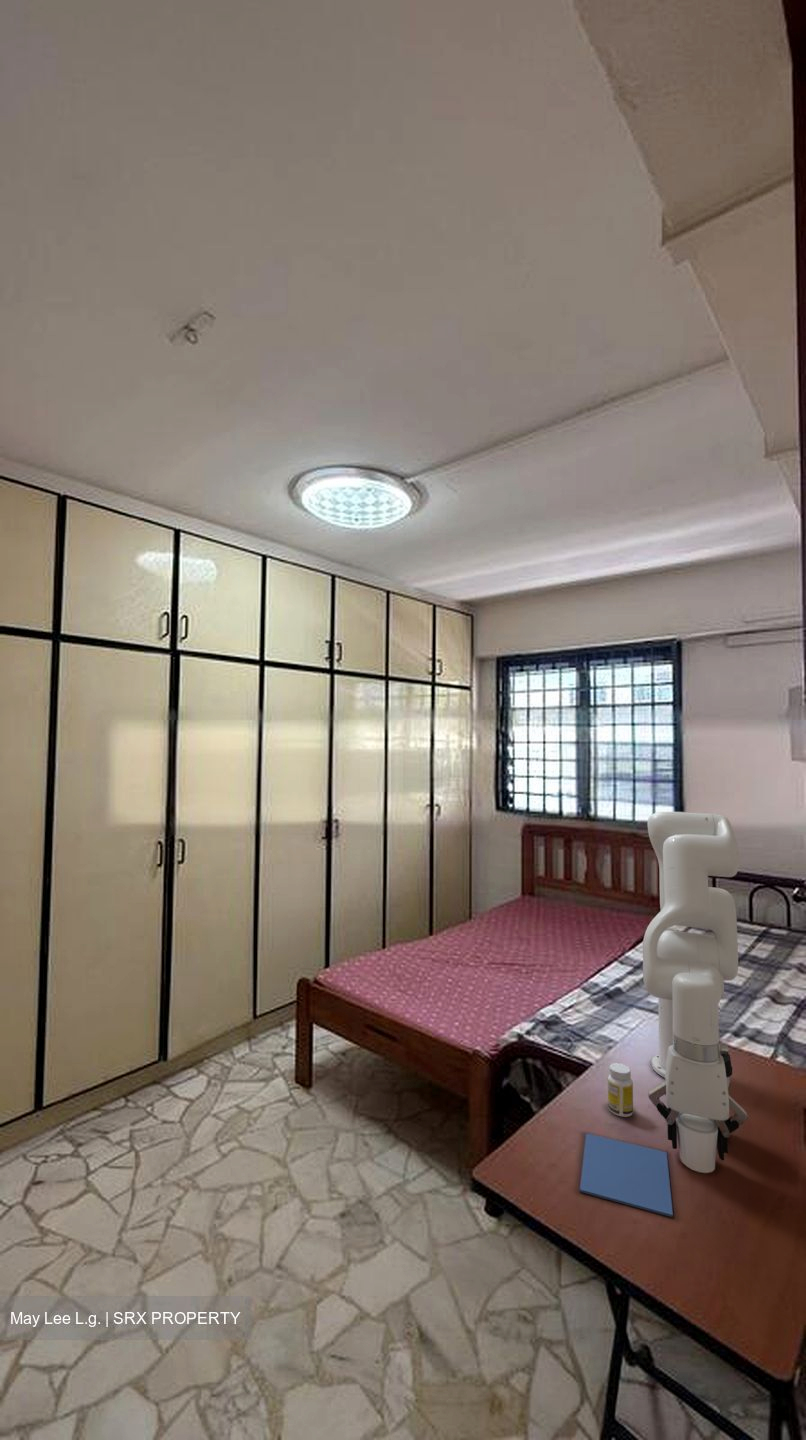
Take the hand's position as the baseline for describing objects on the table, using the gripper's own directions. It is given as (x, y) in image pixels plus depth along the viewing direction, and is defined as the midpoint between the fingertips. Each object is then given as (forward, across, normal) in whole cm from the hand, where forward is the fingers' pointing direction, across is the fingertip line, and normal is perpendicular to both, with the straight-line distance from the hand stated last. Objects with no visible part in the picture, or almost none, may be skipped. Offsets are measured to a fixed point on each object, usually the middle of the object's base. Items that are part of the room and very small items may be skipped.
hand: (697, 1149), depth 104 cm
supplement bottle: (+2, +13, -11) cm, 17 cm away
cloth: (+2, +12, +8) cm, 15 cm away
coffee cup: (+2, -3, -10) cm, 11 cm away
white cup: (+2, 0, 0) cm, 2 cm away
